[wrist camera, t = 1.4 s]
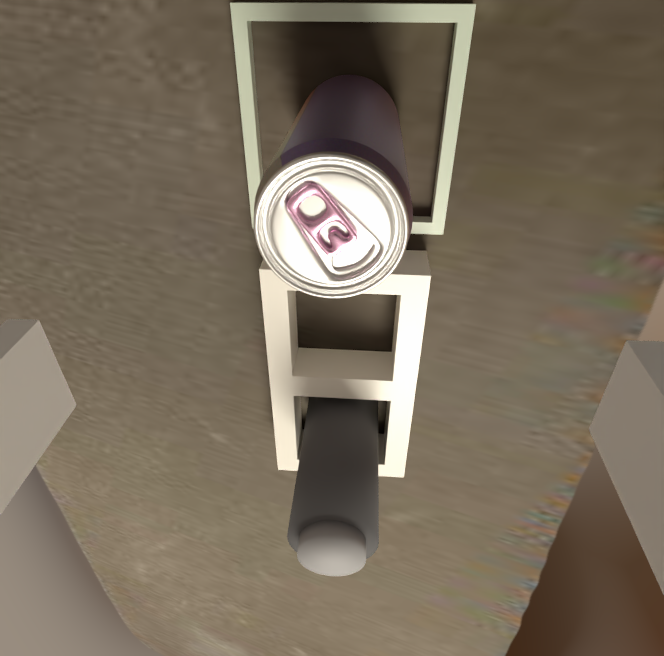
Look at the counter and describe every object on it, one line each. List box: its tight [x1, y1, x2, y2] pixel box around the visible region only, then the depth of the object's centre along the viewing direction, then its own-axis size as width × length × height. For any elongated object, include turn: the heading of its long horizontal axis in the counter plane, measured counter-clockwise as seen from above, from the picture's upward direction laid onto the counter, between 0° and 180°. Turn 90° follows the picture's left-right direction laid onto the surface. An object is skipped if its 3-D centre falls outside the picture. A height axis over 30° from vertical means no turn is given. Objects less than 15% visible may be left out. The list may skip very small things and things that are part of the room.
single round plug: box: [287, 397, 379, 576], centre depth 37 cm, size 6×6×14 cm
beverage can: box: [254, 75, 413, 298], centre depth 24 cm, size 6×6×15 cm
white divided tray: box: [259, 250, 431, 477], centre depth 39 cm, size 20×11×4 cm, turn 0°
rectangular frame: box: [230, 2, 476, 235], centre depth 29 cm, size 13×13×1 cm
